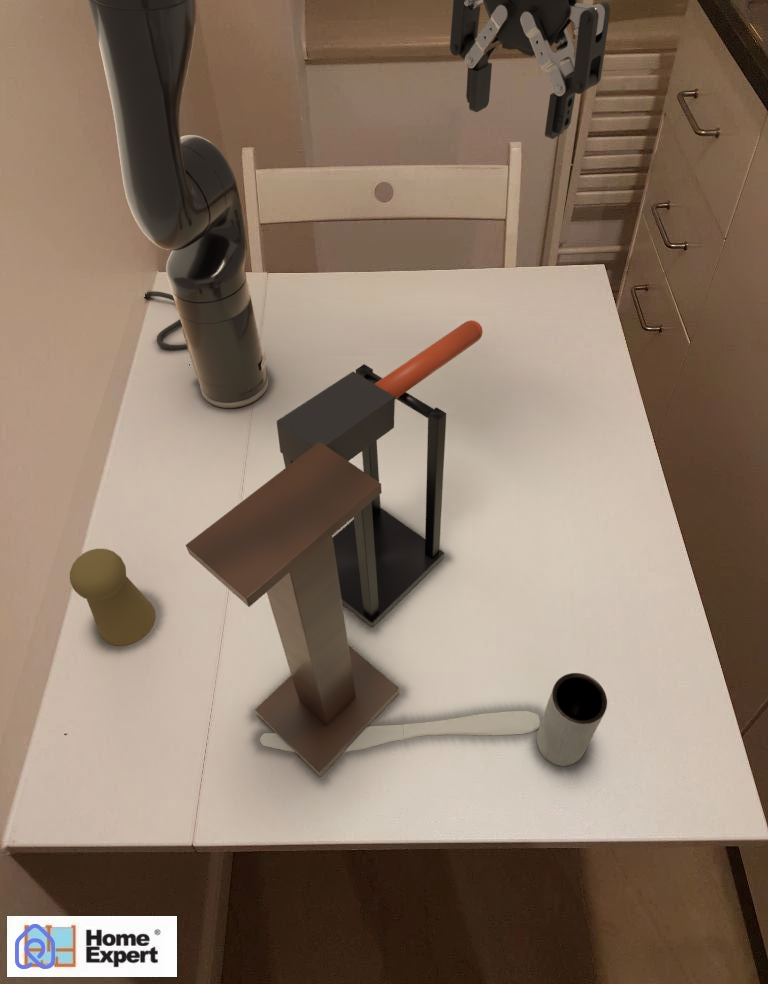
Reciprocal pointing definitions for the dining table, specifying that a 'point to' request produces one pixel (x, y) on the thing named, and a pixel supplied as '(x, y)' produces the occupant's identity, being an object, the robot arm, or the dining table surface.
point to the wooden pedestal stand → (303, 599)
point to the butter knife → (434, 729)
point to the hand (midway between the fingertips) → (515, 121)
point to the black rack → (390, 531)
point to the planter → (571, 718)
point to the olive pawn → (112, 597)
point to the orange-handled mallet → (365, 402)
